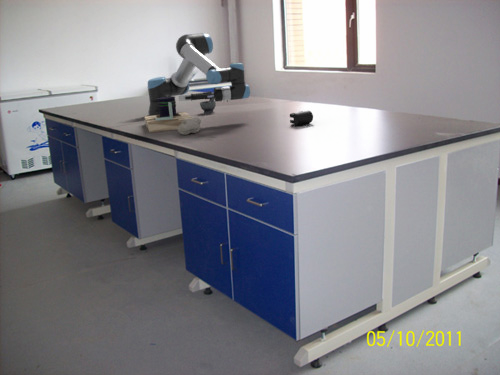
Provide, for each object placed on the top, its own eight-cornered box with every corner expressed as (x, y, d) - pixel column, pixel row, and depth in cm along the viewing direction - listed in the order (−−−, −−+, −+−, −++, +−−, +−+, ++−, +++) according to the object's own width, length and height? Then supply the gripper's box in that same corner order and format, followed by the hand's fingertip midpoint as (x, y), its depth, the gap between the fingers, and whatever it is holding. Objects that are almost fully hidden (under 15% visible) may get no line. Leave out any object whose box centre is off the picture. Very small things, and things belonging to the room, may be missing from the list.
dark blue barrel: (157, 125, 289) (154, 98, 285) (166, 122, 298) (163, 96, 294) (172, 125, 286) (169, 98, 281) (181, 122, 294) (178, 96, 290)
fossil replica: (174, 135, 255) (190, 138, 250) (172, 119, 252) (188, 122, 247) (189, 129, 264) (204, 131, 259) (187, 113, 261) (203, 115, 256)
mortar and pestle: (205, 114, 317) (203, 95, 314) (198, 113, 325) (196, 94, 321) (221, 112, 323) (219, 93, 320) (213, 110, 330) (211, 92, 327)
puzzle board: (145, 124, 296) (144, 115, 294) (186, 119, 301) (185, 110, 300) (149, 132, 268) (148, 122, 266) (194, 127, 274) (193, 117, 272)
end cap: (298, 127, 253) (298, 113, 251) (289, 126, 259) (288, 112, 257) (313, 124, 259) (313, 111, 257) (304, 123, 264) (303, 109, 262)
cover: (155, 119, 278) (153, 103, 275) (171, 117, 280) (169, 101, 278) (156, 121, 270) (154, 105, 267) (173, 120, 272) (171, 103, 269)
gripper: (224, 102, 274) (181, 106, 268) (219, 99, 286) (178, 104, 281) (223, 87, 272) (179, 92, 266) (218, 86, 284) (176, 90, 279)
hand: (178, 98), depth 274 cm, fingers closed
